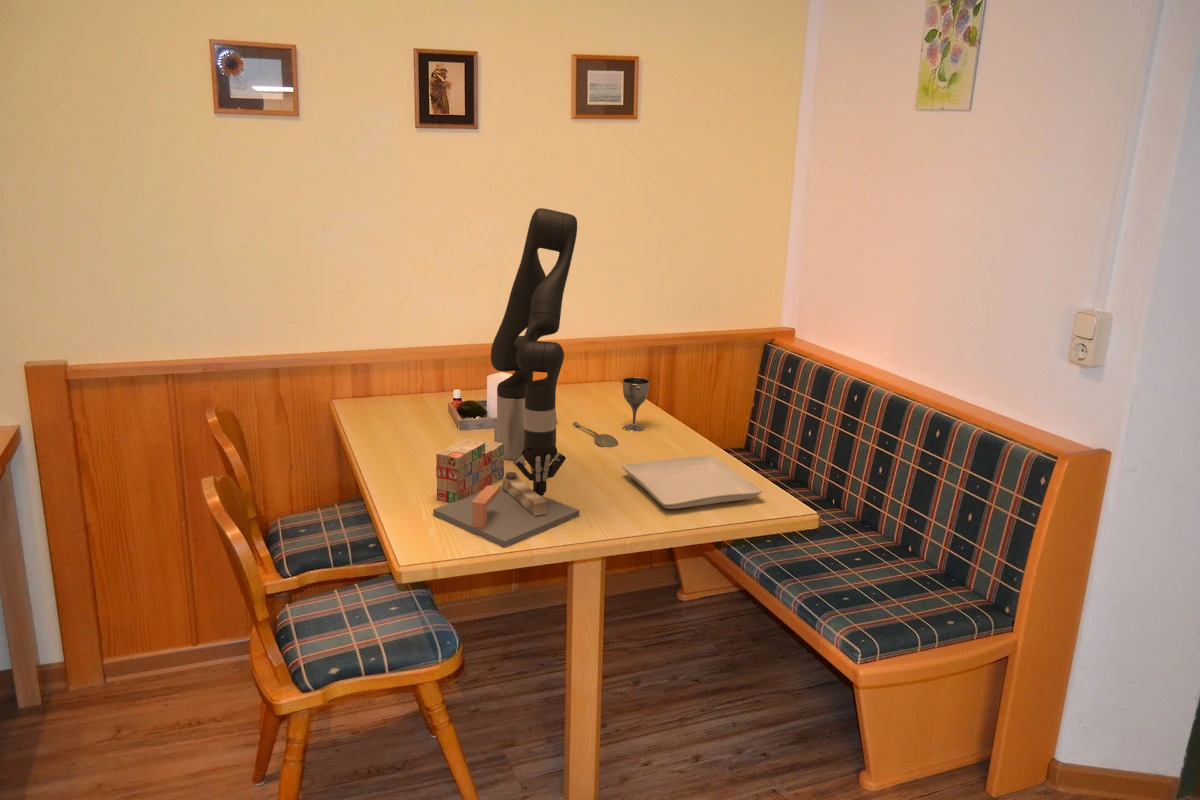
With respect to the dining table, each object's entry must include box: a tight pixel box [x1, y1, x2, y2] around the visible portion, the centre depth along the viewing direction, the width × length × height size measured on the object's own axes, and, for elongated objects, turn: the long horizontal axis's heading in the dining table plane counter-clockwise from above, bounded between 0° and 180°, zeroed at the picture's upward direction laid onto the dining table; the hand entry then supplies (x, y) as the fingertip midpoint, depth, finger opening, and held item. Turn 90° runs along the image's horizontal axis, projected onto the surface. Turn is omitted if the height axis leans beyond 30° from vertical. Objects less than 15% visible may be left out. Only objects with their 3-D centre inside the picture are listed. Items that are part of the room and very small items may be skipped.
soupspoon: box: [572, 421, 619, 449], centre depth 273 cm, size 22×3×7 cm
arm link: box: [502, 471, 547, 516], centre depth 220 cm, size 19×4×4 cm, turn 29°
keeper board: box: [432, 484, 580, 548], centre depth 215 cm, size 24×24×8 cm
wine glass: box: [622, 376, 650, 432], centre depth 280 cm, size 8×8×15 cm
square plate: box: [621, 455, 763, 510], centre depth 236 cm, size 27×27×4 cm
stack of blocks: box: [435, 438, 505, 504], centre depth 229 cm, size 21×6×12 cm, turn 155°
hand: (539, 494), depth 219 cm, fingers closed
